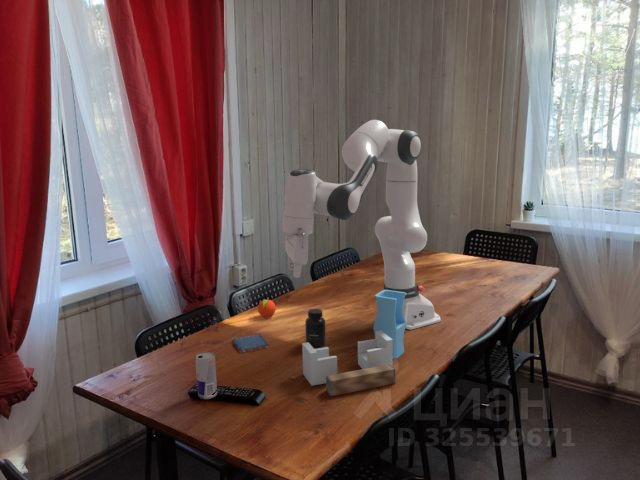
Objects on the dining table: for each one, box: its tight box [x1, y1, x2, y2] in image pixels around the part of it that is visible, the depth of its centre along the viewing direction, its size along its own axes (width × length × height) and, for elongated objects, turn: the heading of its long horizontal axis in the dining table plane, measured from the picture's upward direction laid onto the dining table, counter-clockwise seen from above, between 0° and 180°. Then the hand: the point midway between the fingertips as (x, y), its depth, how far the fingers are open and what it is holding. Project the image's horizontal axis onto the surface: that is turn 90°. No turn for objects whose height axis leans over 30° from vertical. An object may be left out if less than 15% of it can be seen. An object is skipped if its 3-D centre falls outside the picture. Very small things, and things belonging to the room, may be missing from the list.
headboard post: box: [357, 330, 394, 369], centre depth 174 cm, size 8×8×10 cm
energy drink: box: [195, 351, 218, 400], centre depth 159 cm, size 5×5×12 cm
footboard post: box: [301, 342, 338, 386], centre depth 168 cm, size 8×8×10 cm
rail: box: [325, 364, 396, 397], centre depth 162 cm, size 20×4×4 cm, turn 110°
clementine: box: [257, 299, 277, 318], centre depth 219 cm, size 8×7×7 cm
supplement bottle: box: [304, 308, 326, 349], centre depth 192 cm, size 7×7×12 cm
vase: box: [372, 289, 406, 360], centre depth 183 cm, size 8×8×20 cm
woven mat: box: [231, 333, 270, 354], centre depth 194 cm, size 10×11×2 cm
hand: (294, 273), depth 164 cm, fingers open, 8 cm apart
